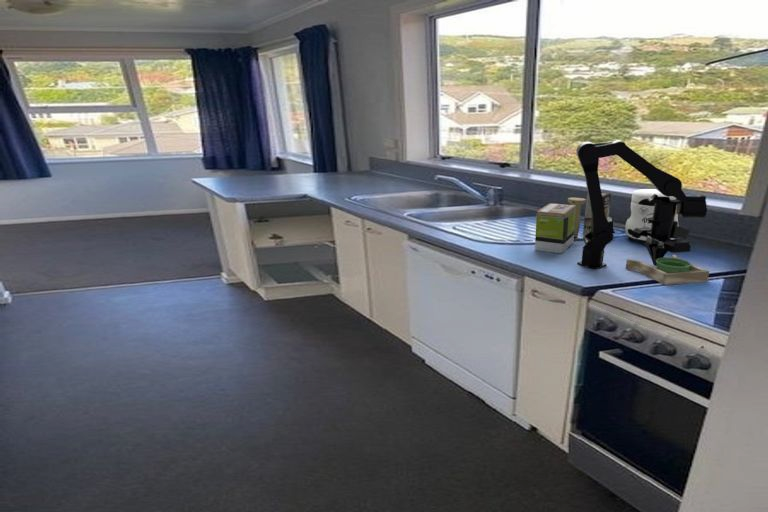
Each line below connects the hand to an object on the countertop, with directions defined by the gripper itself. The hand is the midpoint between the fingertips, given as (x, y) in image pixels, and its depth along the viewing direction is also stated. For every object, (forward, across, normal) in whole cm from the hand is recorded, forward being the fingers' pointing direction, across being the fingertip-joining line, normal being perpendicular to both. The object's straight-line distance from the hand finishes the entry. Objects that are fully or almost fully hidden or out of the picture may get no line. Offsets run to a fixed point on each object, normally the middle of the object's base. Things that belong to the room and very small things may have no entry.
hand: (656, 265), depth 149 cm
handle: (+1, +40, +5) cm, 40 cm away
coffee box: (+2, +41, -5) cm, 42 cm away
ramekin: (+1, -6, 0) cm, 7 cm away
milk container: (+1, +28, -20) cm, 34 cm away
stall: (+1, -5, 0) cm, 5 cm away
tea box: (+2, +30, +18) cm, 35 cm away
